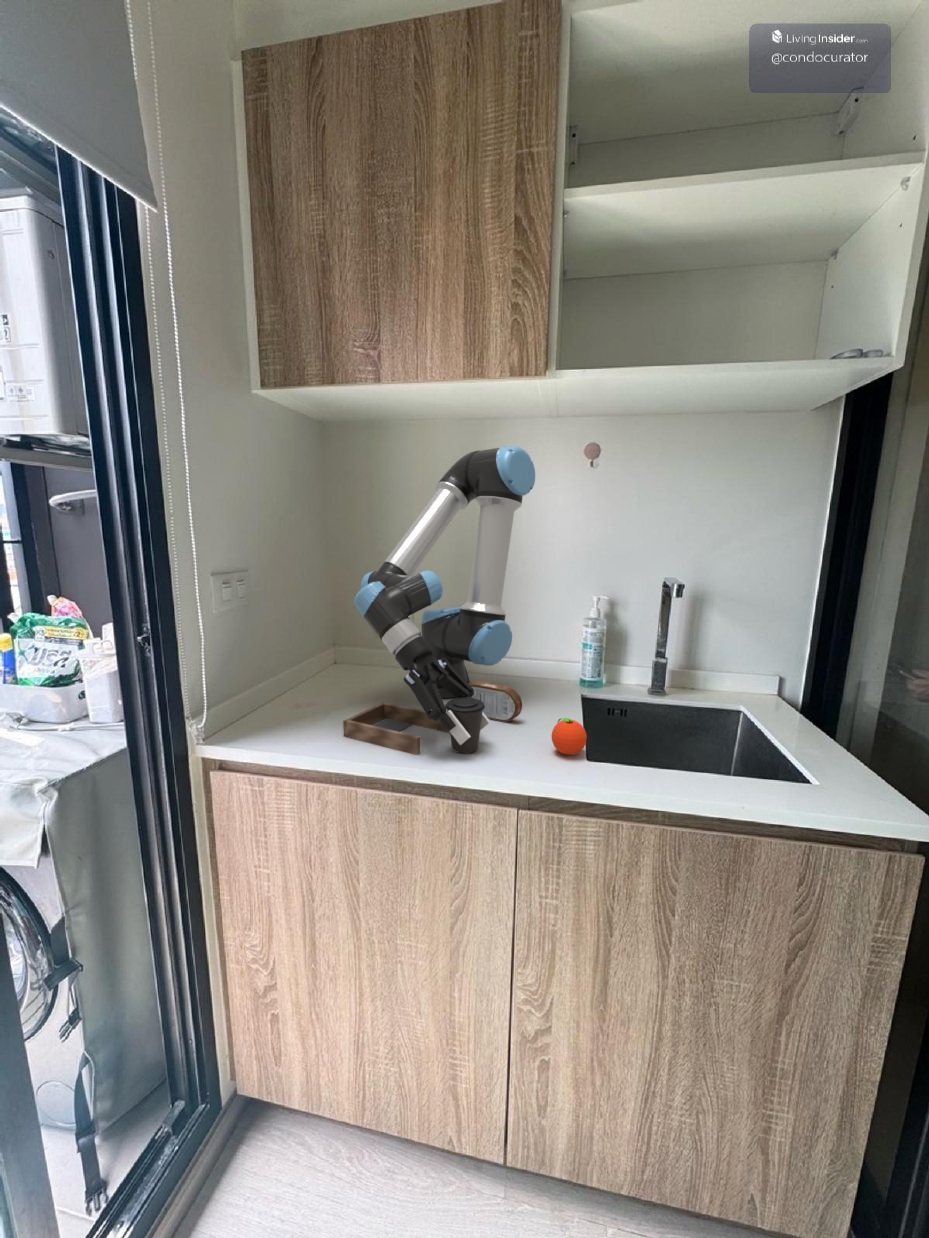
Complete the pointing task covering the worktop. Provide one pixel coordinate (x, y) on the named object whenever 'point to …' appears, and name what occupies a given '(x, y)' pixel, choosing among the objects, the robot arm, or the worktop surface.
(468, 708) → the coffee cup
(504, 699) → the tin
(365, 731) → the channel
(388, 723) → the pad
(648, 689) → the worktop surface
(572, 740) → the clementine
